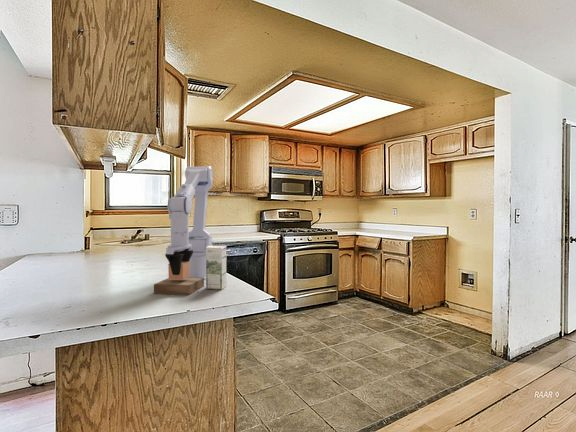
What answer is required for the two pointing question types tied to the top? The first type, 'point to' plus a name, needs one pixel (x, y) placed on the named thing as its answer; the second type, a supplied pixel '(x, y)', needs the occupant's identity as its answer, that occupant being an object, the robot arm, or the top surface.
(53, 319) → the top surface
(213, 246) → the syrup box
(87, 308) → the top surface
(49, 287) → the top surface
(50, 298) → the top surface
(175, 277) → the cube
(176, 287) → the walnut base
